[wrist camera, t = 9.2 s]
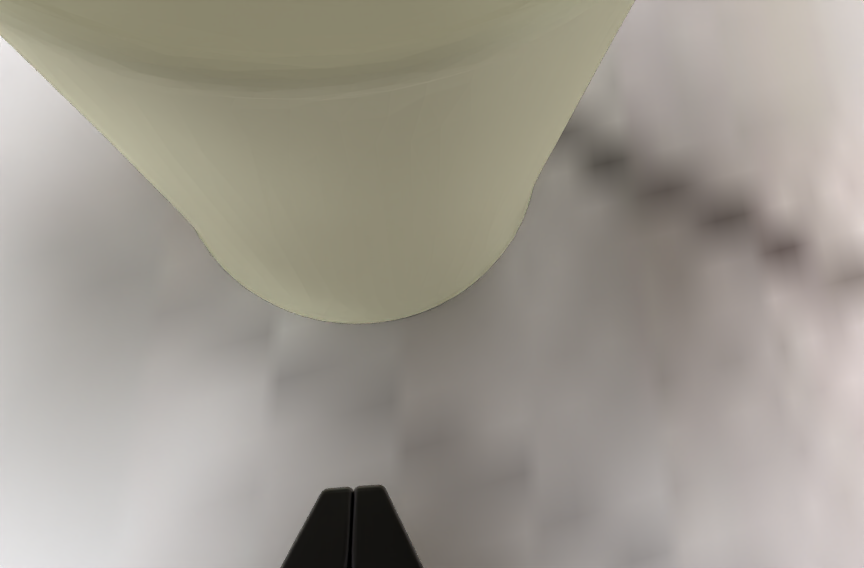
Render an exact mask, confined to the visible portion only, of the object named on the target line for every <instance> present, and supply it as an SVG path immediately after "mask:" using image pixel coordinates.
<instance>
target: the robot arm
mask: <svg viewBox="0 0 864 568" xmlns="http://www.w3.org/2000/svg"><path fill="white" fill-rule="evenodd" d="M280 568H423V566H422V564H421V562H420V559H419V557H418V555H417V553H416V551H415V549H414V547H413V545H412V543H411V541H410V539H409V536H408V534H407V532H406V530H405V528H404V526H403V524H402V522H401V520H400V518H399V516H398V514H397V511H396V509H395V507H394V505H393V503H392V501H391V499H390V497H389V495H388V493H387V491H386V489H385V488H384V486H382V485H368V486H358V487H356V488H355V490H354V491H353V489H352V488H350V487H340V488H328V489H325V490H323V491H322V492H321V494H320V495H319V497H318V499H317V501H316V503H315V505H314V506H313V508H312V510H311V512H310V514H309V516H308V517H307V519H306V521H305V523H304V525H303V527H302V529H301V530H300V532H299V534H298V536H297V538H296V540H295V541H294V543H293V545H292V547H291V549H290V551H289V552H288V554H287V556H286V558H285V560H284V562H283V564H282V565H281V567H280Z"/></svg>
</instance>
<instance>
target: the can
mask: <svg viewBox="0 0 864 568" xmlns="http://www.w3.org/2000/svg"><path fill="white" fill-rule="evenodd" d="M634 2H635V0H0V35H1V36H2V37H3V38H4V39H5V40H6V41H7V42H8V43H9V44H10V45H11V46H12V47H13V48H14V49H15V50H16V51H17V52H18V53H19V54H20V55H21V56H22V57H23V58H24V59H25V60H26V61H27V62H28V63H30V64H31V65H32V66H33V67H34V68H35V69H36V70H37V71H38V72H39V73H40V74H41V75H42V76H43V77H44V78H45V79H46V80H47V81H48V82H49V83H50V84H51V85H52V86H53V87H54V88H55V89H56V90H57V91H58V92H59V93H60V94H61V95H62V96H64V97H65V98H66V99H67V100H68V101H69V102H70V103H71V104H72V105H73V106H74V107H75V108H76V109H77V110H78V111H79V112H80V113H81V114H82V115H83V116H84V117H85V118H86V119H87V120H88V121H89V122H90V123H91V124H92V125H93V126H94V127H95V128H96V129H97V130H98V131H99V132H100V133H101V134H102V135H103V136H104V137H105V138H106V139H107V140H108V141H109V142H110V143H111V144H112V145H113V146H114V147H115V148H116V149H117V150H118V151H119V152H120V153H121V154H122V155H123V156H124V157H125V158H126V159H127V160H128V161H129V162H130V163H131V164H132V165H133V166H134V167H135V168H136V169H137V170H138V171H139V172H140V173H141V174H142V175H143V176H144V177H145V178H146V179H147V180H148V181H149V182H150V183H151V184H152V185H153V186H154V187H155V188H156V189H157V190H158V191H159V192H160V193H161V194H162V195H163V196H164V197H165V198H166V199H167V200H168V201H169V202H170V203H171V204H172V205H173V206H174V207H175V208H176V209H177V210H178V211H179V212H180V213H181V215H182V216H183V217H184V218H185V219H186V220H187V221H188V222H189V223H190V224H191V225H192V226H193V227H194V228H195V230H196V232H197V234H198V235H199V237H200V239H201V240H202V242H203V243H204V245H205V246H206V248H207V249H208V251H209V252H210V254H211V255H212V256H213V257H214V258H215V259H216V261H217V262H218V263H219V264H220V265H221V266H222V267H223V269H224V270H225V271H226V272H228V273H229V274H230V275H231V276H232V277H233V278H234V279H235V280H236V281H237V282H239V283H240V284H241V285H242V286H244V287H245V288H246V289H248V290H249V291H251V292H252V293H254V294H255V295H257V296H259V297H260V298H262V299H264V300H266V301H267V302H269V303H271V304H273V305H275V306H277V307H279V308H282V309H284V310H287V311H289V312H292V313H295V314H298V315H301V316H304V317H308V318H312V319H316V320H321V321H327V322H334V323H346V324H369V323H379V322H386V321H392V320H397V319H402V318H405V317H409V316H412V315H416V314H419V313H421V312H424V311H426V310H429V309H431V308H434V307H436V306H439V305H440V304H442V303H444V302H446V301H448V300H449V299H451V298H453V297H455V296H457V295H458V294H460V293H461V292H463V291H464V290H466V289H467V288H468V287H470V286H471V285H472V284H474V283H475V282H476V281H477V280H478V279H479V278H481V277H482V276H483V275H484V274H485V273H486V272H487V271H488V270H489V269H490V268H491V267H492V266H493V264H494V263H495V262H496V261H497V260H498V259H499V258H500V257H501V255H502V254H503V253H504V251H505V250H506V248H507V247H508V246H509V244H510V243H511V241H512V240H513V238H514V236H515V234H516V232H517V231H518V229H519V227H520V225H521V223H522V221H523V218H524V216H525V214H526V211H527V208H528V205H529V202H530V199H531V195H532V191H533V187H534V185H535V183H536V180H537V178H538V176H539V174H540V172H541V171H542V169H543V167H544V165H545V163H546V161H547V160H548V158H549V156H550V154H551V152H552V150H553V149H554V147H555V145H556V143H557V141H558V139H559V138H560V136H561V134H562V132H563V130H564V128H565V127H566V125H567V123H568V121H569V119H570V117H571V116H572V114H573V112H574V110H575V108H576V106H577V105H578V103H579V101H580V99H581V97H582V96H583V94H584V92H585V90H586V88H587V86H588V85H589V83H590V81H591V79H592V77H593V75H594V74H595V72H596V70H597V68H598V66H599V64H600V63H601V61H602V59H603V57H604V55H605V53H606V52H607V50H608V48H609V46H610V44H611V42H612V41H613V39H614V37H615V35H616V33H617V32H618V30H619V28H620V26H621V25H622V23H623V21H624V19H625V18H626V16H627V14H628V12H629V11H630V9H631V7H632V5H633V4H634Z"/></svg>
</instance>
